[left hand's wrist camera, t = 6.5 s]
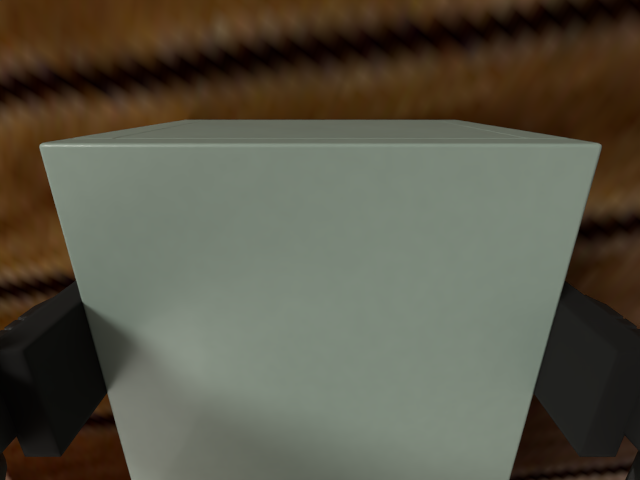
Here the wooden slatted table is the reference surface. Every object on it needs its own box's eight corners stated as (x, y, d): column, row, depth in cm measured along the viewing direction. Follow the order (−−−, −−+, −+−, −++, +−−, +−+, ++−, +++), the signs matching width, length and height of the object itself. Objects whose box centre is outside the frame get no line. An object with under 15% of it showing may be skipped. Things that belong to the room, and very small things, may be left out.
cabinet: (417, 419, 20) (474, 609, 13) (223, 419, 20) (165, 608, 13) (456, 119, 14) (604, 143, 7) (184, 119, 15) (35, 143, 7)
